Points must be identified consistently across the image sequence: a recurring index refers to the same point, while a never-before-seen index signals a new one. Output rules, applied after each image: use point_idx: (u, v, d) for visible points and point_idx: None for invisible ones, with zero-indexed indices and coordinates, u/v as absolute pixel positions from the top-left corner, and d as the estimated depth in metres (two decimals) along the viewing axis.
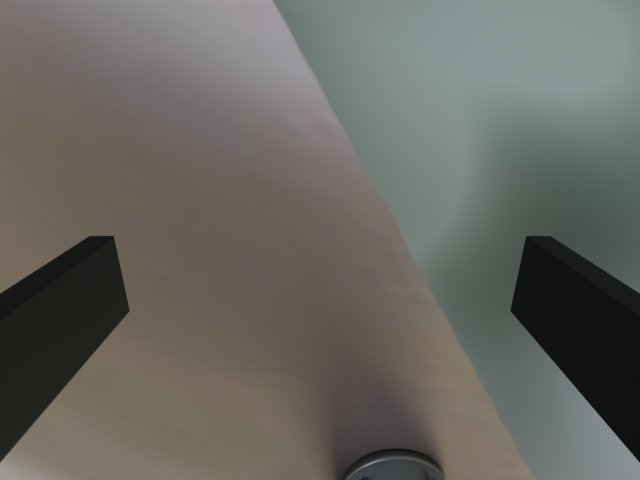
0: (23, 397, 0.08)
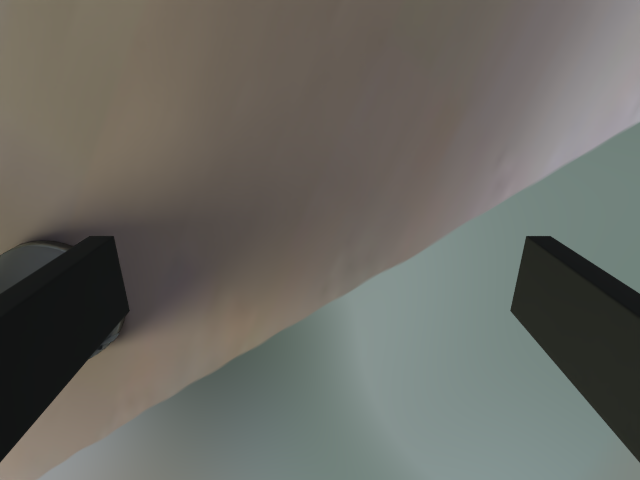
0: (23, 397, 0.08)
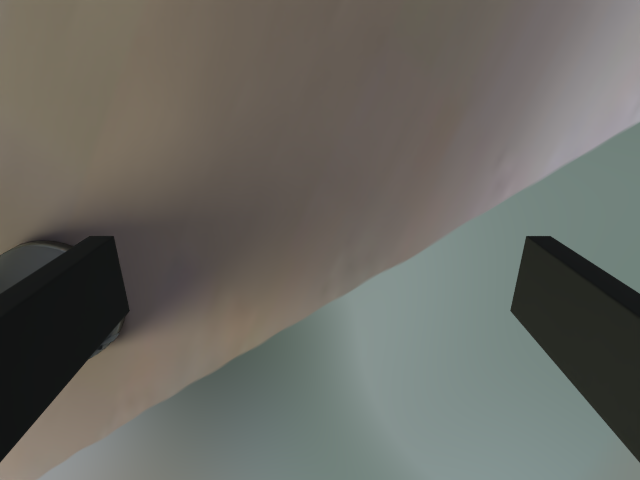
0: (23, 397, 0.08)
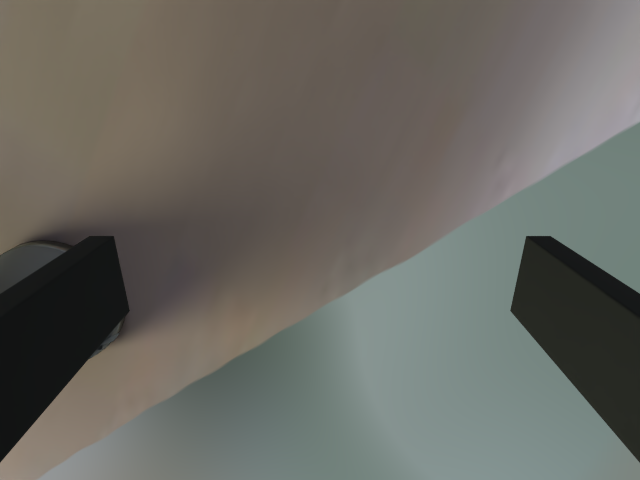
0: (23, 397, 0.08)
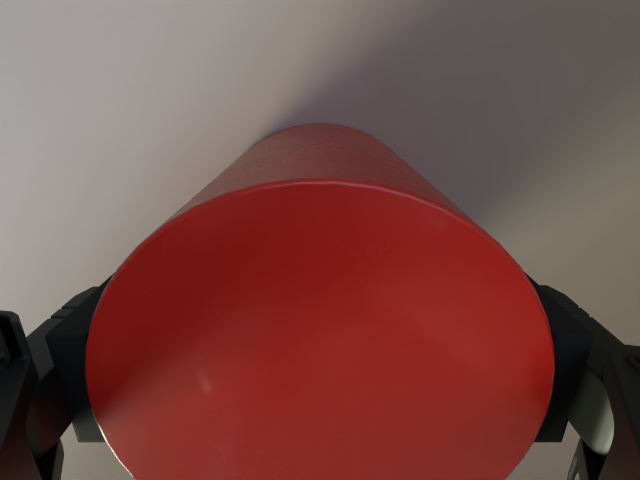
0: None
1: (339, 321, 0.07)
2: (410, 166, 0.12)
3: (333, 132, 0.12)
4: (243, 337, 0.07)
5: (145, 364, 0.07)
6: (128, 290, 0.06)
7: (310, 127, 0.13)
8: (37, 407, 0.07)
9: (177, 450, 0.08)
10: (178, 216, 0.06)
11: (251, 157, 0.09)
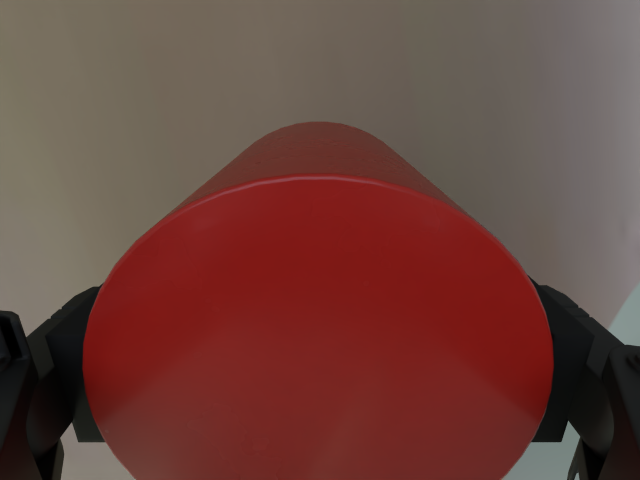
0: None
1: (338, 317, 0.07)
2: None
3: (332, 130, 0.12)
4: (241, 333, 0.07)
5: (143, 360, 0.07)
6: (126, 286, 0.06)
7: (309, 125, 0.13)
8: (37, 407, 0.07)
9: (175, 447, 0.08)
10: (175, 212, 0.06)
11: (250, 154, 0.09)
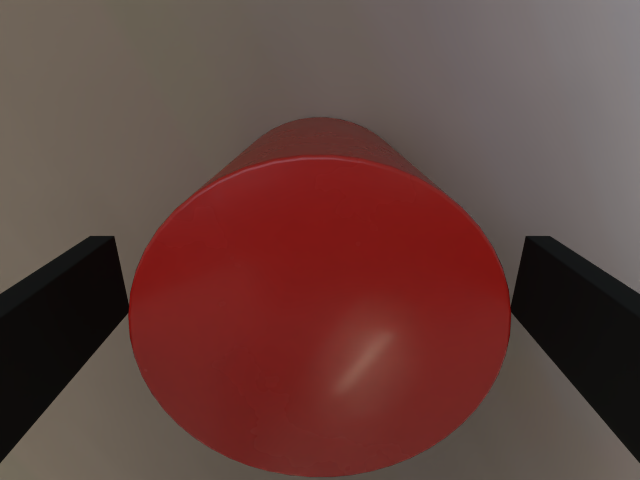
0: (24, 397, 0.08)
1: (335, 272, 0.08)
2: None
3: (331, 124, 0.13)
4: (258, 286, 0.08)
5: (178, 308, 0.08)
6: (166, 246, 0.08)
7: (311, 120, 0.15)
8: None
9: (201, 385, 0.09)
10: (208, 185, 0.07)
11: (261, 144, 0.11)
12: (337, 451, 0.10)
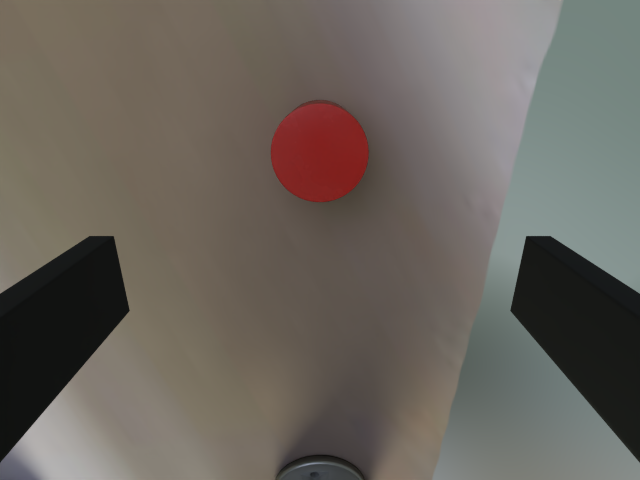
0: (23, 397, 0.08)
1: (323, 133, 0.34)
2: None
3: None
4: (304, 137, 0.34)
5: (284, 143, 0.34)
6: (283, 125, 0.33)
7: (316, 100, 0.40)
8: None
9: (288, 167, 0.35)
10: (294, 110, 0.33)
11: (302, 105, 0.37)
12: (324, 191, 0.36)
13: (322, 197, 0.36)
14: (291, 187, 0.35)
